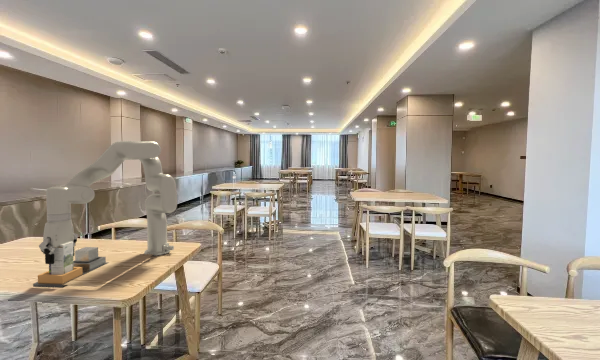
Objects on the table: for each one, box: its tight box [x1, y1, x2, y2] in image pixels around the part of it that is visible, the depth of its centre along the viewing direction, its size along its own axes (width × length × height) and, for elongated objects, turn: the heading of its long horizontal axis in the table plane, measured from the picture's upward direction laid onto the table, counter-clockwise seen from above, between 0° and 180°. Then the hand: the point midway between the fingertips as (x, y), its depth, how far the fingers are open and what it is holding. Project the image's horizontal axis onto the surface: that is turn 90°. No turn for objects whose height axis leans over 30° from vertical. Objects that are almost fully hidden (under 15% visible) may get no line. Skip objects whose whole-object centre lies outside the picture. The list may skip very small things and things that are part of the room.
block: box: [74, 246, 99, 263], centre depth 135 cm, size 6×6×8 cm
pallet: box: [32, 256, 110, 288], centre depth 128 cm, size 26×12×4 cm, turn 177°
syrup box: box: [48, 242, 74, 275], centre depth 121 cm, size 6×6×14 cm
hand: (60, 259), depth 121 cm, fingers open, 9 cm apart
